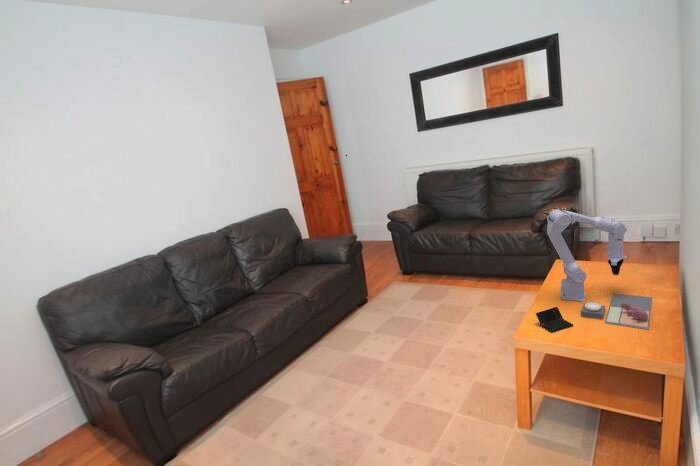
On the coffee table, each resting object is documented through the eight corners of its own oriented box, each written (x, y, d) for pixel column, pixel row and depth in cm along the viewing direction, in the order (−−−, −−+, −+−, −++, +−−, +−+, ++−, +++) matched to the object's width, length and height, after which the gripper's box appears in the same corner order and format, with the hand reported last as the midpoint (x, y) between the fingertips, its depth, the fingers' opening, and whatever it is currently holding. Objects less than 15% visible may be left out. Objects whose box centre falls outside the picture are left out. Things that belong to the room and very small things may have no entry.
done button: (583, 314, 166) (583, 307, 165) (586, 308, 170) (586, 301, 169) (600, 317, 162) (600, 309, 161) (602, 311, 166) (602, 303, 166)
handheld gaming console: (556, 331, 156) (544, 308, 160) (543, 336, 162) (532, 313, 166) (576, 326, 160) (564, 303, 164) (563, 330, 166) (552, 308, 170)
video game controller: (633, 321, 154) (652, 321, 153) (633, 311, 153) (652, 310, 152) (619, 312, 163) (636, 312, 162) (619, 302, 163) (637, 301, 162)
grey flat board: (604, 323, 158) (604, 322, 158) (613, 293, 180) (613, 292, 180) (648, 329, 149) (648, 329, 149) (652, 297, 170) (652, 297, 170)
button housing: (580, 316, 166) (580, 311, 165) (584, 308, 172) (583, 303, 171) (602, 319, 161) (602, 314, 160) (605, 311, 167) (605, 305, 166)
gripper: (625, 252, 166) (624, 281, 170) (627, 242, 177) (627, 269, 180) (605, 251, 171) (605, 279, 174) (609, 241, 181) (609, 268, 185)
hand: (615, 274), depth 178 cm, fingers closed
